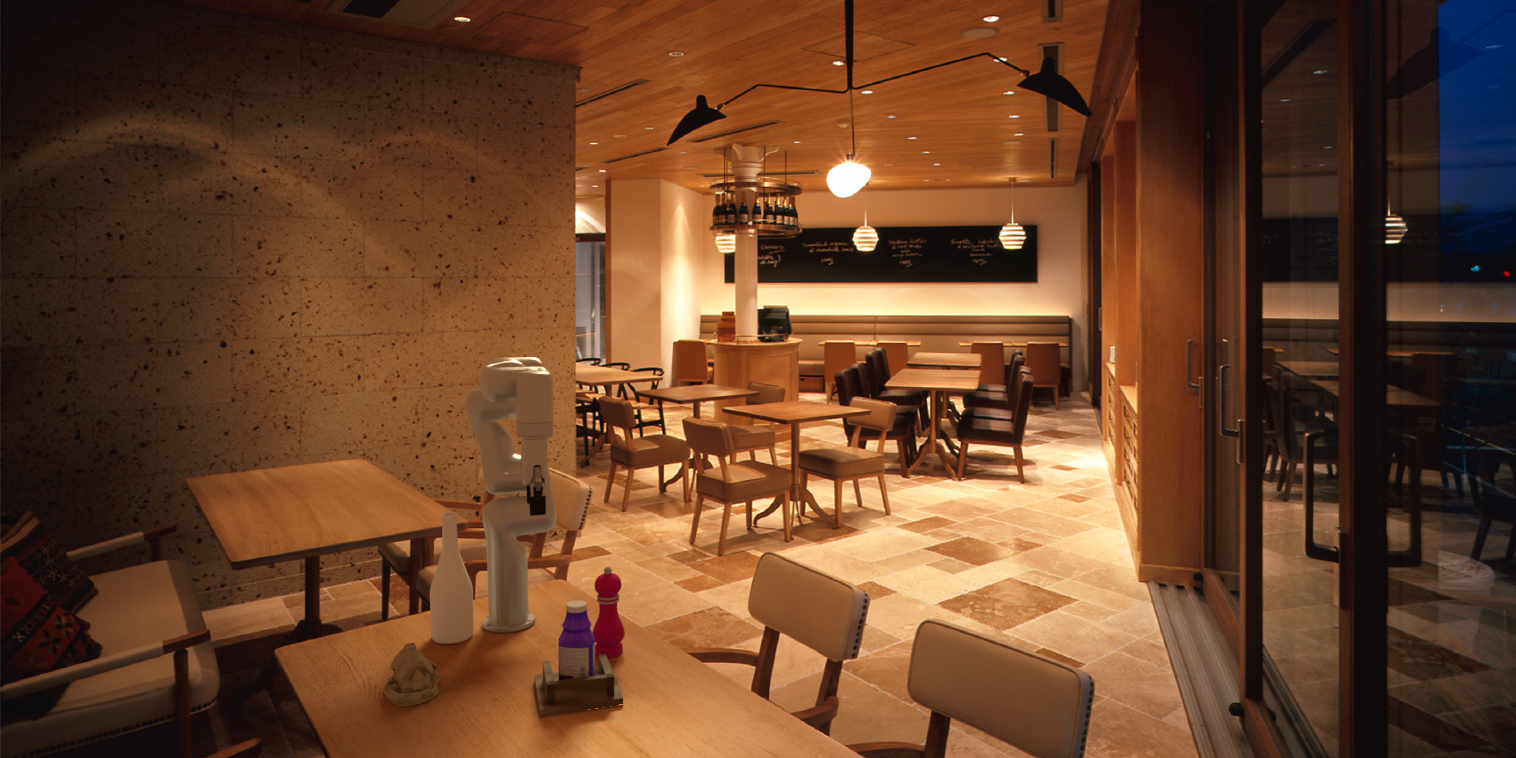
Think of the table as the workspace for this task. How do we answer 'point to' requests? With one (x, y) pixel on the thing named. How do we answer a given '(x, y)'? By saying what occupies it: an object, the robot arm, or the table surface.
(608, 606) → the pepper mill
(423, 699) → the ceramic model
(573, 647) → the bottle
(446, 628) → the wine bottle
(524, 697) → the table surface
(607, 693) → the bottle rest
